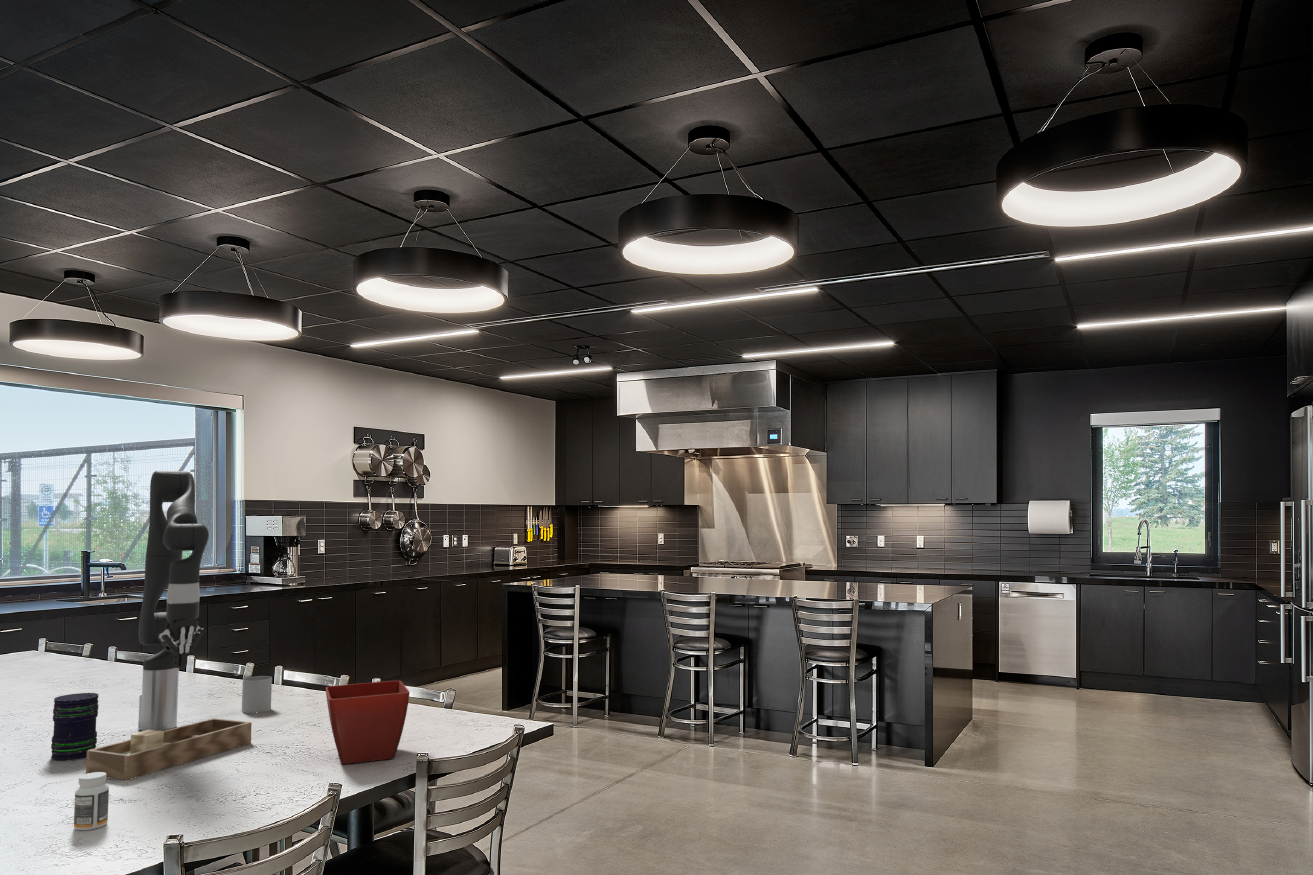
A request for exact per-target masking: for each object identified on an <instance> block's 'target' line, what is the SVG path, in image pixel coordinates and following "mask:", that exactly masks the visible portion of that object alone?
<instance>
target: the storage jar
mask: <svg viewBox="0 0 1313 875" xmlns="http://www.w3.org/2000/svg"><path fill="white" fill-rule="evenodd" d="M98 699H99V694H98V693H96V692H80V693H79V692H78V693H72V694H71V693H70V694H69V693H68V694H64V695H60V696H57V697H54V698H53V710H52V714H53V715H52V721H53V735H52V737H51V746H50V748H51V757H50V759H52V760H51V761H54V760H55V761H56V762H68V761H67V760H71V761H77V759H78V760H82V759H81V758H83V759H87V758H86V757H87V750H91V749H95V748H97V742H98V741H97V740H98V738H97V736H98V732H97V717H98V716H99V715H98V714H99V700H98ZM55 761H54V762H55Z"/></svg>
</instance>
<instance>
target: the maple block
mask: <svg viewBox="0 0 1313 875" xmlns="http://www.w3.org/2000/svg"><path fill="white" fill-rule="evenodd" d="M164 731H165V730H162V731H157V730H146V731H140V732H139V731H138V732H134V733H131V734H130V739H131V745H130V754H133V753H137V752H141V751H144V750H148V749H152V748H155V747H159V746H163V741H164Z"/></svg>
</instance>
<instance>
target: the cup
mask: <svg viewBox="0 0 1313 875" xmlns="http://www.w3.org/2000/svg"><path fill="white" fill-rule="evenodd" d="M272 681H273V678H272V676H268V675H257V676H248V677H244V678H243V679H242V687H241V691H242V693H241V694H242V695H241V713H242V712H245V713H244V714H247V713H254V714H257V713H256V712H262V713H265V712H264V711H267V712H269V711H268V710H270V709H271V710H272V690H273V689H272V687H273V685H272V683H273V682H272ZM271 710H270V711H271Z"/></svg>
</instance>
